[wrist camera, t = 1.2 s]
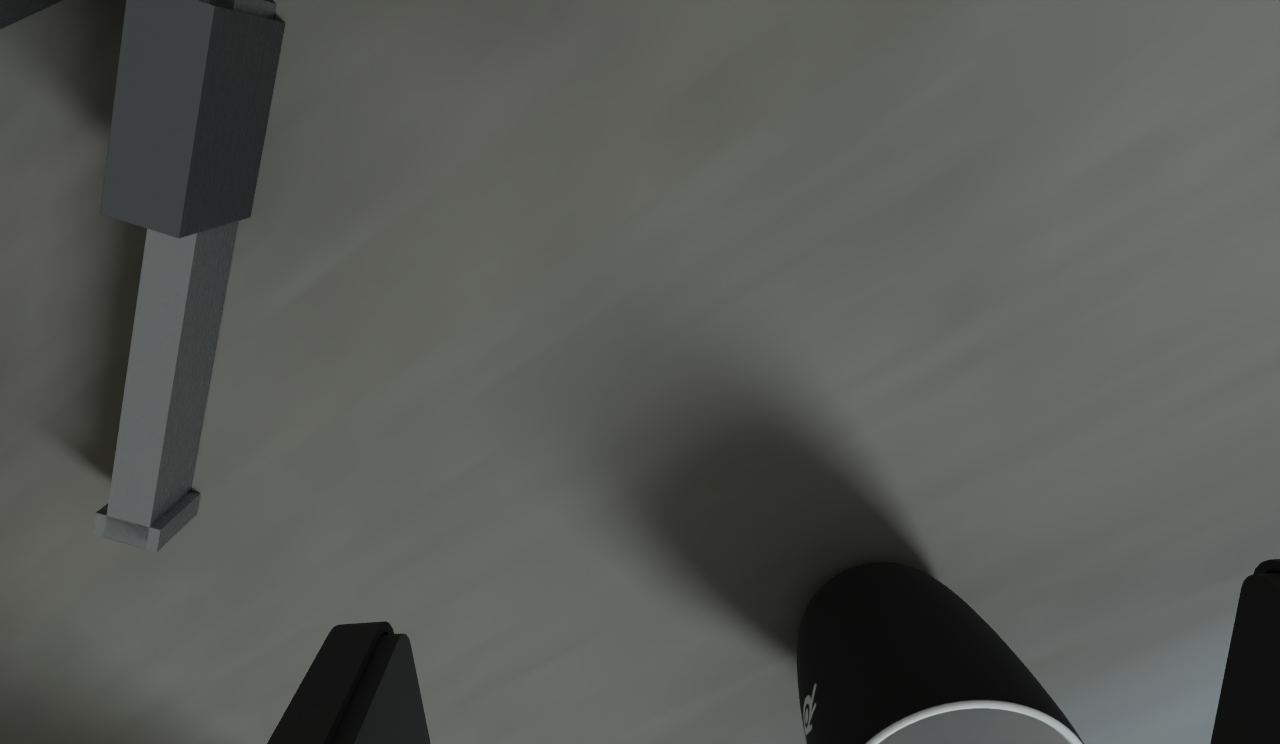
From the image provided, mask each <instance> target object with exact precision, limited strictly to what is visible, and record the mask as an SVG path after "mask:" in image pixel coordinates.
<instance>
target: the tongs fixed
mask: <svg viewBox="0 0 1280 744" xmlns="http://www.w3.org/2000/svg"><path fill="white" fill-rule="evenodd" d="M59 1H62V0H0V29H2V28H4V27H6V26H8V25H10V24H12V23H15V22H17V21H19V20H21V19H23V18H25V17H27V16H30V15H32V14H34V13H36V12H38V11H40V10H42V9H45V8H47V7H49V6H51V5H53V4H55V3H57V2H59Z"/></svg>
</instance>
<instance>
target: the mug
mask: <svg viewBox="0 0 1280 744" xmlns="http://www.w3.org/2000/svg"><path fill="white" fill-rule="evenodd" d="M797 673H798V688H799V698H800V707H801V714H802V720H803V727H804V733H805V739H806V744H1084V743H1083V742H1082V740H1081V738H1080V737H1079V735H1078V734H1077V732H1076V731H1075V729H1074V728H1073V726H1072V725H1071V723H1070V722H1069V720H1068V719H1067V718H1066V716H1065V715H1064V714H1063V712H1062V711H1061V710H1060V709H1059V707H1058V706H1057V705H1056V703H1055V702H1054V701H1053V700H1052V698H1051V697H1050V696H1049V694H1048V693H1047V692H1046V691H1045V689H1044V688H1043V687H1042V686H1041V684H1040V683H1039V682H1038V681H1037V679H1036V678H1035V677H1034V676H1033V675H1032V673H1031V672H1030V671H1029V670H1028V669H1027V667H1026V666H1025V665H1024V664H1023V663H1022V662H1021V660H1020V659H1019V658H1018V657H1017V656H1016V655H1015V653H1014V652H1013V651H1012V650H1011V649H1010V648H1009V647H1008V646H1007V644H1006V643H1005V642H1004V641H1003V640H1002V639H1001V638H1000V637H999V636H998V634H997V633H996V632H995V631H994V630H993V629H992V628H991V627H990V626H989V625H988V624H987V623H986V622H985V621H984V620H983V619H982V618H981V617H980V616H979V615H978V614H977V613H976V612H975V611H974V610H973V609H972V608H971V607H970V606H969V605H968V604H967V603H965V602H964V601H963V600H962V599H961V598H960V597H959V596H957V595H956V594H955V593H954V592H953V591H951V590H950V589H949V588H948V587H946V586H945V585H944V584H942V583H941V582H939V581H938V580H936V579H935V578H933V577H931V576H929V575H927V574H925V573H923V572H921V571H919V570H916V569H913V568H911V567H907V566H903V565H899V564H893V563H873V564H866V565H861V566H858V567H854V568H852V569H849V570H847V571H845V572H842V573H841V574H839V575H837V576H836V577H834V578H833V579H831V580H830V581H829V582H827V583H826V584H825V585H824V586H823V587H822V588H821V589H820V590H819V591H818V592H817V593H816V595H815V596H814V597H813V599H812V600H811V602H810V604H809V605H808V607H807V609H806V612H805V614H804V617H803V619H802V623H801V626H800V630H799V636H798V646H797Z"/></svg>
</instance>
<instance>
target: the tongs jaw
mask: <svg viewBox="0 0 1280 744" xmlns="http://www.w3.org/2000/svg"><path fill="white" fill-rule="evenodd" d="M275 9H276V4H275V3H272V2H269V1H266V0H126V7H125V15H124V24H123V32H122V40H121V48H120V56H119V64H118V72H117V81H116V89H115V97H114V105H113V113H112V121H111V130H110V138H109V146H108V154H107V162H106V170H105V178H104V187H103V195H102V203H101V211H100V214H102V215H105V216H108V217H111V218H115V219H118V220H121V221H124V222H128V223H131V224H134V225H137V226H140V227H144V228H147V234H146V241H145V248H144V255H143V262H142V269H141V276H140V283H139V290H138V297H137V304H136V311H135V319H134V326H133V333H132V340H131V347H130V354H129V361H128V368H127V375H126V382H125V389H124V396H123V403H122V410H121V417H120V424H119V432H118V439H117V446H116V453H115V460H114V467H113V474H112V481H111V488H110V495H109V502H108V504H107V505H105V506H104V507H103V508H101V509H100V510H99V511H97V512H96V514H95V522H94V529H93V535H94V536H98V537H102V538H105V539H109V540H113V541H117V542H120V543H124V544H128V545H132V546H135V547H139V548H143V549H147V550H150V551H154V552H158V551H159V550H160V549H161V548H162V547H163V546H164V545H165V544H166V543H167V542H168V541H169V540H170V539H171V538H172V537H173V536H174V535H175V534H176V533H178V532H179V531H180V530H181V529H182V528H183V527H184V526H185V525H186V524H187V523H188V522H189V521H190V520H191V519H192V518H193V517H194V516H195V515H196V514H197V509H198V504H199V498H200V494H199V493H195V492H192V491H191V486H192V480H193V475H194V469H195V463H196V457H197V452H198V446H199V440H200V435H201V429H202V423H203V418H204V412H205V406H206V401H207V395H208V389H209V384H210V378H211V372H212V367H213V361H214V355H215V350H216V344H217V338H218V333H219V327H220V321H221V316H222V310H223V304H224V298H225V293H226V287H227V281H228V276H229V270H230V264H231V259H232V253H233V247H234V242H235V236H236V230H237V225H238V221H239V220H242V219H246V218H249V217H250V216H251V210H252V205H253V199H254V194H255V188H256V183H257V177H258V171H259V166H260V160H261V155H262V149H263V144H264V138H265V133H266V127H267V122H268V116H269V111H270V105H271V99H272V94H273V88H274V83H275V77H276V72H277V66H278V61H279V55H280V50H281V44H282V38H283V33H284V27H285V23H284V22H281V21H278V20H275V19H274V15H275Z"/></svg>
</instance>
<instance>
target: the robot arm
mask: <svg viewBox="0 0 1280 744" xmlns="http://www.w3.org/2000/svg"><path fill="white" fill-rule="evenodd" d="M267 744H430V739H429V734H428V729H427V724H426V719H425V714H424V709H423V704H422V699H421V694H420V689H419V684H418V679H417V674H416V669H415V664H414V659H413V654H412V649H411V644H410V641H409V638H408V636H407V635H406V634H394V632H393V628H392V627H391V625H390V624H389V623H388V622H372V623H358V624H343V625H337V626H335V627H334V628H333V629H332V630H331V631H330V633H329V635H328V636H327V638H326V640H325V642H324V643H323V645H322V647H321V649H320V651H319V652H318V654H317V656H316V658H315V659H314V661H313V663H312V665H311V667H310V668H309V670H308V672H307V674H306V676H305V677H304V679H303V681H302V683H301V684H300V686H299V688H298V690H297V692H296V693H295V695H294V697H293V699H292V700H291V702H290V704H289V706H288V708H287V709H286V711H285V713H284V715H283V717H282V718H281V720H280V722H279V724H278V725H277V727H276V729H275V731H274V733H273V734H272V736H271V738H270V740H269V741H268V743H267ZM1211 744H1280V559H1273V560H1267V561H1264V562H1261V563H1260V565H1259V566H1258V567H1257V568H1256V569H1255V572H1254V574H1253V575H1251V576H1248V577H1247V578H1246V579H1245V580H1244V582H1243V585H1242V588H1241V593H1240V598H1239V603H1238V608H1237V613H1236V618H1235V623H1234V628H1233V633H1232V638H1231V643H1230V648H1229V653H1228V658H1227V663H1226V669H1225V674H1224V679H1223V684H1222V689H1221V694H1220V699H1219V704H1218V709H1217V714H1216V719H1215V724H1214V729H1213V734H1212V739H1211Z"/></svg>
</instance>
